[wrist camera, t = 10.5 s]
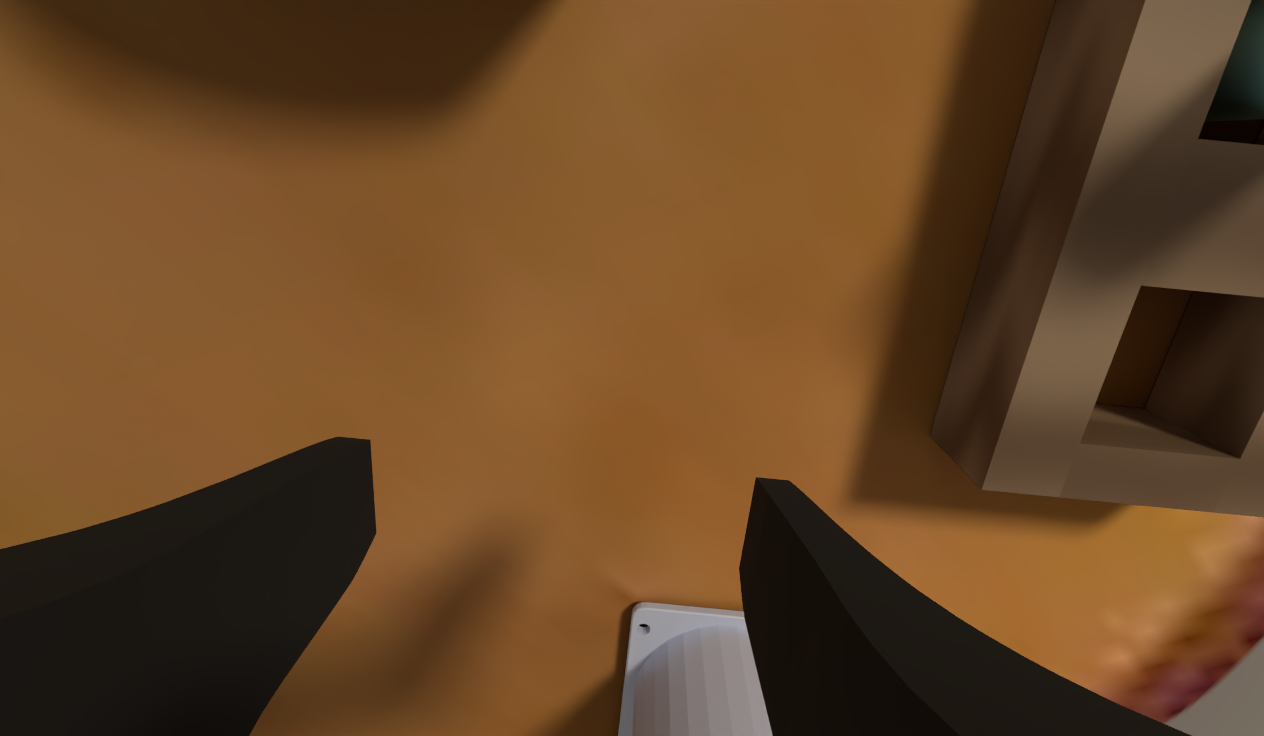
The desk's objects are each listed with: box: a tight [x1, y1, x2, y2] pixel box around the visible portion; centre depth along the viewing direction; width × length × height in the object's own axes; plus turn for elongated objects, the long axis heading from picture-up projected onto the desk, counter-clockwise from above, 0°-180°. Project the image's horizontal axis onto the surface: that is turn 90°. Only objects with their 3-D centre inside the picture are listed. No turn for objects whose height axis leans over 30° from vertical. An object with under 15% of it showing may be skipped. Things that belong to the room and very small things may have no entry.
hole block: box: [930, 0, 1264, 517], centre depth 16 cm, size 16×9×4 cm, turn 175°
